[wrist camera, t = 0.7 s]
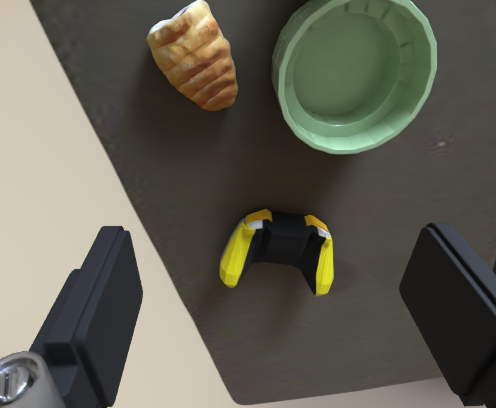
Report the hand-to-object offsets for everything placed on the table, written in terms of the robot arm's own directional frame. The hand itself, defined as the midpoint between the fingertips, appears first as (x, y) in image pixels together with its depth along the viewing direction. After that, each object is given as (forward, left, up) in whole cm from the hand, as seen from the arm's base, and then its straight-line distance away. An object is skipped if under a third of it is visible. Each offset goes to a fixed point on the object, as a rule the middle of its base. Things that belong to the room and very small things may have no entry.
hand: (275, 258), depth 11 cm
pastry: (-2, -4, -27) cm, 28 cm away
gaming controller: (+22, +5, -27) cm, 35 cm away
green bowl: (0, +9, -27) cm, 28 cm away
